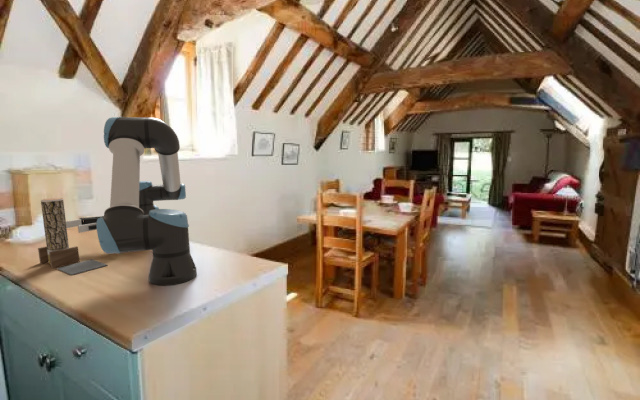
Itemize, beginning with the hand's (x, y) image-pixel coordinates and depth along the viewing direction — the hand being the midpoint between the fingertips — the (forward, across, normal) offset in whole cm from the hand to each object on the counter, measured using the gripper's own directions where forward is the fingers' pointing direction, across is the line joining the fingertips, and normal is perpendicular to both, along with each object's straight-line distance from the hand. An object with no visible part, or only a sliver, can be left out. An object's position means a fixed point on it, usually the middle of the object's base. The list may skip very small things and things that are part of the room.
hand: (70, 227), depth 139 cm
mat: (+3, -15, -13) cm, 20 cm away
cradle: (+5, -1, -13) cm, 14 cm away
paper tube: (+5, -1, -13) cm, 14 cm away
